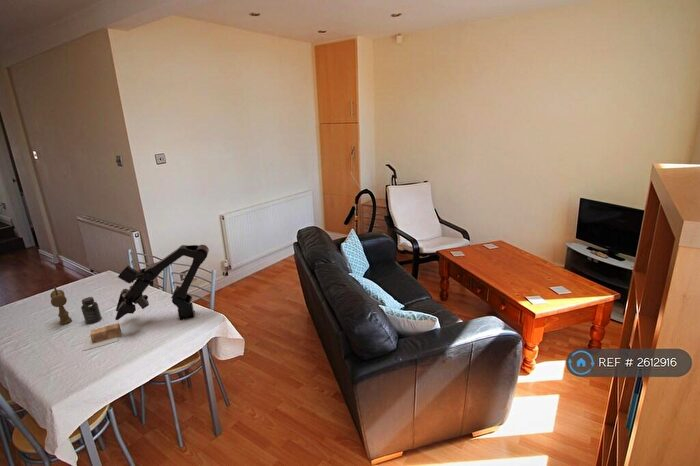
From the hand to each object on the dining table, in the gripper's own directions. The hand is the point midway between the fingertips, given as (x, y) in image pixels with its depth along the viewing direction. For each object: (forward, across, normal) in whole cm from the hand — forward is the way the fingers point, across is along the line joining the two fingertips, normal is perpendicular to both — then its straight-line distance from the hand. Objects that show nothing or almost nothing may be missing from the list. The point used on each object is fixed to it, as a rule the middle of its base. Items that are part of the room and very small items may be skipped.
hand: (116, 315), depth 172 cm
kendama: (+22, +23, +11) cm, 34 cm away
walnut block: (+3, -5, -4) cm, 7 cm away
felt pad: (+10, -5, 0) cm, 12 cm away
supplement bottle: (+14, +17, +3) cm, 22 cm away
